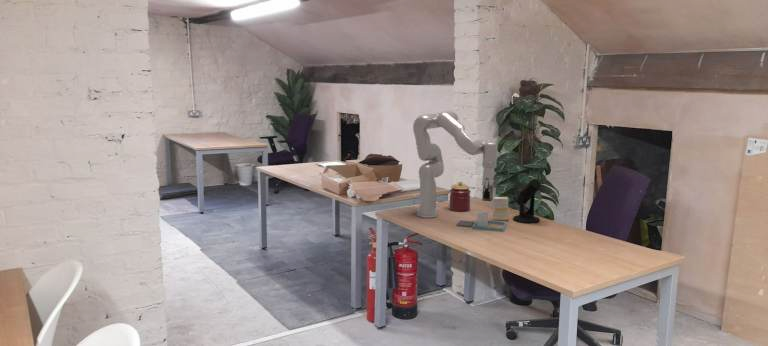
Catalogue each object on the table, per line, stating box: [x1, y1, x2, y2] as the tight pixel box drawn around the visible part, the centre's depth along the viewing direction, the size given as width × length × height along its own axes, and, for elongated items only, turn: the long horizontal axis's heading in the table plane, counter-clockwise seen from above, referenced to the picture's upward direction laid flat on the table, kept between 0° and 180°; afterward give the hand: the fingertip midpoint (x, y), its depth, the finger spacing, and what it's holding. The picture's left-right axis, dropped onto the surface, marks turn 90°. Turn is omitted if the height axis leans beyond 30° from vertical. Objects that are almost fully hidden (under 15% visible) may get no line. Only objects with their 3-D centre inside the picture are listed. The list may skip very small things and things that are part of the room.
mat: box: [456, 219, 475, 228], centre depth 311 cm, size 8×10×1 cm
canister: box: [449, 181, 472, 213], centre depth 344 cm, size 13×13×18 cm
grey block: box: [476, 210, 489, 227], centre depth 307 cm, size 5×5×8 cm
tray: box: [471, 219, 507, 233], centre depth 306 cm, size 17×15×2 cm
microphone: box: [512, 179, 542, 225], centre depth 318 cm, size 15×17×25 cm
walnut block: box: [481, 184, 494, 203], centre depth 304 cm, size 5×5×8 cm
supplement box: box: [492, 196, 510, 221], centre depth 321 cm, size 8×5×13 cm, turn 84°
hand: (487, 196), depth 304 cm, fingers closed on walnut block, 5 cm apart
